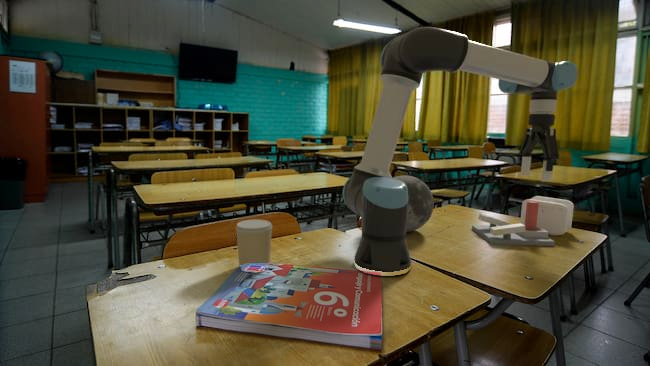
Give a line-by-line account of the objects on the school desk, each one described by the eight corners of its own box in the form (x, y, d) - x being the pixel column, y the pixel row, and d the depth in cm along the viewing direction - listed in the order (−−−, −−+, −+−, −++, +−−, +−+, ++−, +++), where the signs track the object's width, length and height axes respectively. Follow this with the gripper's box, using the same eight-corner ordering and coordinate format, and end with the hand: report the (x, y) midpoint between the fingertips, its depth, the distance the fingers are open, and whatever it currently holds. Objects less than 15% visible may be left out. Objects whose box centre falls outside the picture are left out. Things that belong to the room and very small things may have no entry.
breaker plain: (481, 220, 134) (482, 215, 134) (477, 218, 137) (479, 213, 137) (507, 228, 135) (509, 223, 134) (504, 226, 138) (506, 220, 137)
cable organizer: (573, 232, 138) (577, 201, 136) (563, 238, 131) (567, 205, 129) (529, 224, 149) (532, 195, 147) (518, 228, 142) (521, 198, 141)
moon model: (368, 234, 132) (370, 177, 129) (382, 220, 150) (385, 170, 147) (427, 242, 124) (431, 181, 121) (435, 227, 143) (438, 174, 139)
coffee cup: (259, 258, 107) (258, 217, 105) (279, 268, 100) (279, 224, 99) (229, 267, 101) (228, 223, 99) (249, 277, 94) (248, 230, 92)
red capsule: (527, 235, 129) (530, 203, 127) (521, 232, 132) (524, 201, 130) (537, 235, 129) (541, 203, 127) (532, 232, 132) (535, 201, 130)
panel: (491, 244, 123) (492, 234, 122) (471, 228, 141) (472, 219, 140) (554, 245, 123) (555, 235, 122) (526, 230, 140) (527, 220, 140)
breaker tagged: (494, 236, 124) (494, 230, 123) (490, 233, 127) (490, 227, 127) (525, 231, 123) (525, 225, 123) (520, 228, 126) (520, 223, 126)
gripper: (577, 113, 111) (569, 184, 115) (533, 114, 136) (527, 173, 139) (552, 112, 112) (544, 183, 115) (512, 114, 136) (506, 172, 140)
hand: (535, 178), depth 127 cm, fingers open, 13 cm apart
